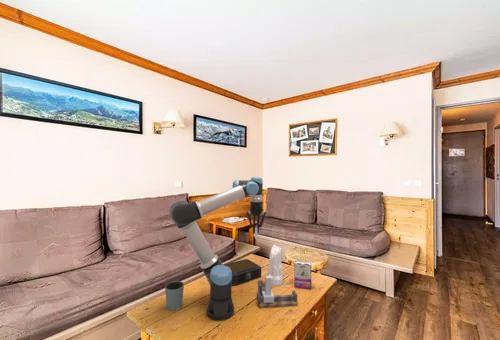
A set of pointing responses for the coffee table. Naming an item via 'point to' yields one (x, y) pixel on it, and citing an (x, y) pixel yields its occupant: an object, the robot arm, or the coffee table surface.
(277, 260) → the decorative vase
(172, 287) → the grey cup
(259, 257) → the coffee table surface
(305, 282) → the candy bar box
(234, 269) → the cash box
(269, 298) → the carriage
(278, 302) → the slide rail
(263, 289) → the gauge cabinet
